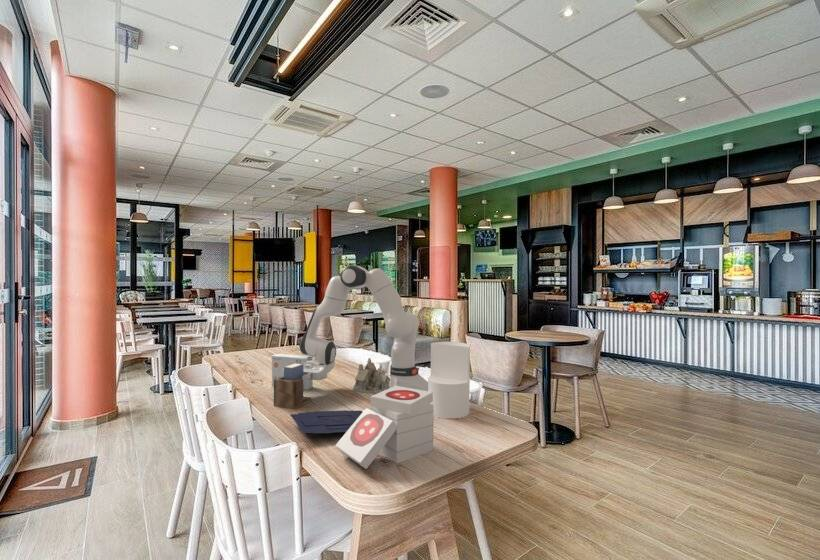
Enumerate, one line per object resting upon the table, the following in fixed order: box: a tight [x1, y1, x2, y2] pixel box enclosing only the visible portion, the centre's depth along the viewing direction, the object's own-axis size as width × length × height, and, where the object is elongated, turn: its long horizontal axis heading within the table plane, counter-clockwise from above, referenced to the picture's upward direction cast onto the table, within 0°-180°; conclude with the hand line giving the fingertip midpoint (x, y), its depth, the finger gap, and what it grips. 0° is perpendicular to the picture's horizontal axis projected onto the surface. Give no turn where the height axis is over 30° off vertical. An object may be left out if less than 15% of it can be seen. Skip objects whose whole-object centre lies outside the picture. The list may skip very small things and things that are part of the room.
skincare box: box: [271, 353, 314, 391], centre depth 205 cm, size 21×5×16 cm, turn 73°
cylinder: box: [427, 341, 471, 419], centre depth 169 cm, size 17×17×28 cm
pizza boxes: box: [335, 386, 435, 470], centre depth 129 cm, size 19×30×18 cm, turn 128°
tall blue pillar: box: [284, 364, 304, 381], centre depth 180 cm, size 4×8×15 cm, turn 160°
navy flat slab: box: [289, 409, 363, 434], centre depth 152 cm, size 24×30×4 cm
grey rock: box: [352, 357, 391, 394], centre depth 201 cm, size 16×16×15 cm
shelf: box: [273, 377, 312, 410], centre depth 179 cm, size 11×12×12 cm
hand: (293, 377), depth 180 cm, fingers open, 7 cm apart
